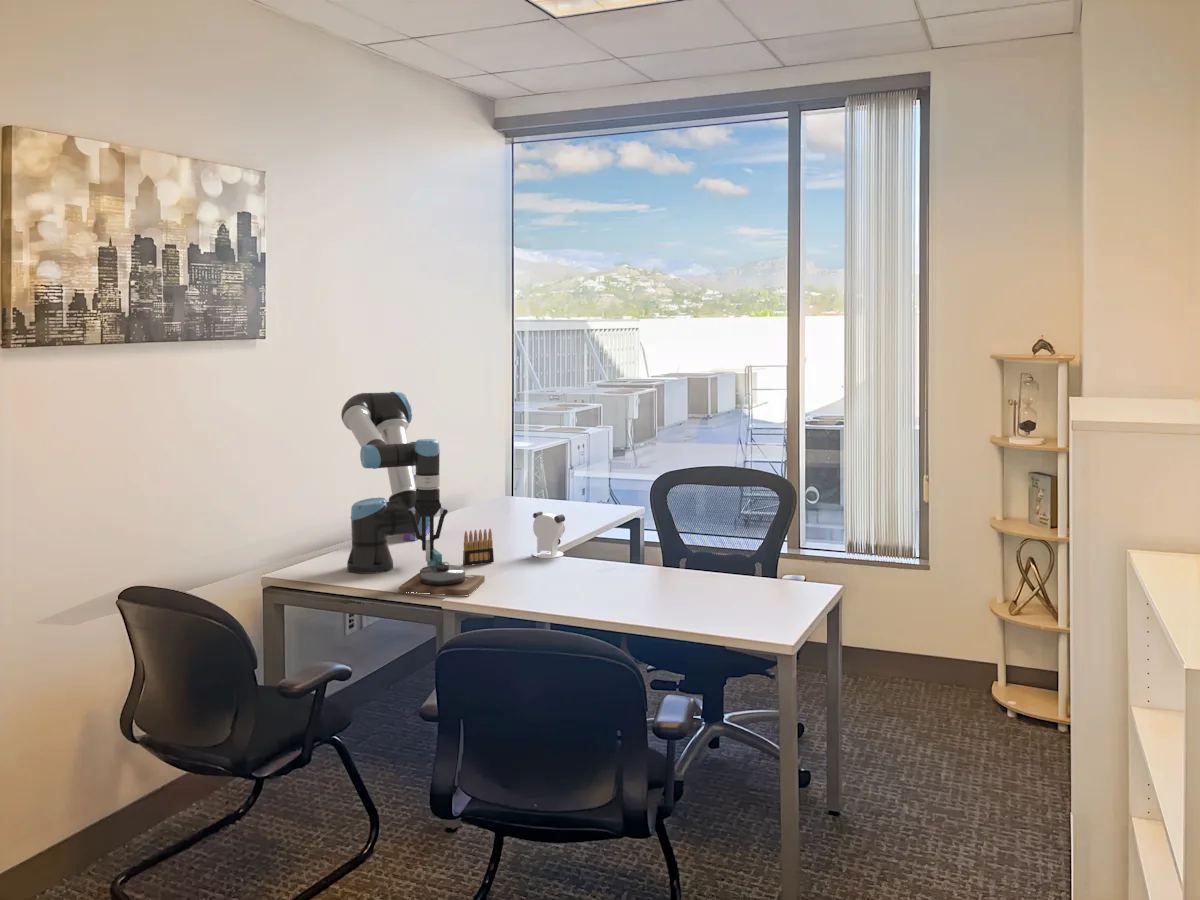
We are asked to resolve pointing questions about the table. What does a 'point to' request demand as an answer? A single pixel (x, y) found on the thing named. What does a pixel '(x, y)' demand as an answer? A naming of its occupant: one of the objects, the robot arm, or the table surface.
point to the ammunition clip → (478, 548)
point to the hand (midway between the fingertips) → (427, 560)
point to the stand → (443, 586)
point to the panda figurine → (548, 533)
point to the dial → (441, 571)
